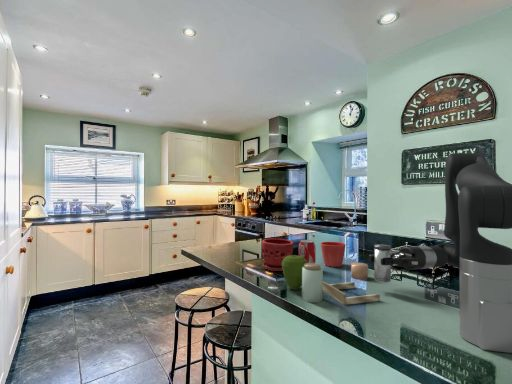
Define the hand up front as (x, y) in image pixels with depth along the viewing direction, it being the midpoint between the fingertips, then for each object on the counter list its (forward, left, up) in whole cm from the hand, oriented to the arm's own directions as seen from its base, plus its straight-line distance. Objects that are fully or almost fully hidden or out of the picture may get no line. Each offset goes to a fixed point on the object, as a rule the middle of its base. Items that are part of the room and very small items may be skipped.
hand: (375, 259), depth 87 cm
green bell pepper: (-3, +26, -11) cm, 28 cm away
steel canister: (+1, -2, -7) cm, 7 cm away
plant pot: (+20, +35, -11) cm, 41 cm away
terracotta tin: (+17, +3, -11) cm, 20 cm away
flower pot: (+34, +12, -11) cm, 37 cm away
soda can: (+23, +23, -11) cm, 34 cm away
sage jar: (-10, +20, -11) cm, 25 cm away
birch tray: (-5, +8, -11) cm, 14 cm away
